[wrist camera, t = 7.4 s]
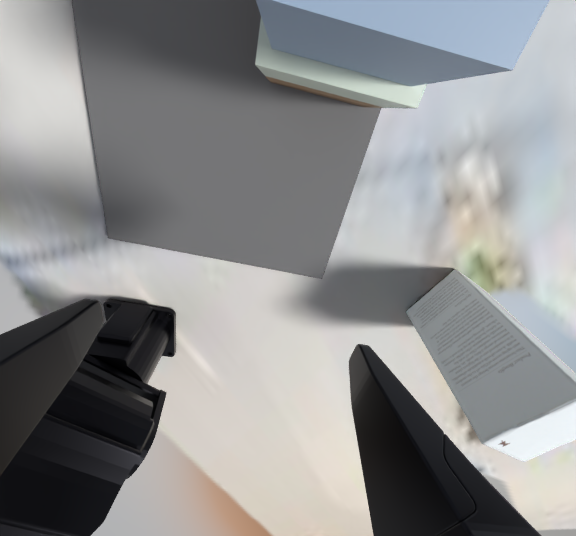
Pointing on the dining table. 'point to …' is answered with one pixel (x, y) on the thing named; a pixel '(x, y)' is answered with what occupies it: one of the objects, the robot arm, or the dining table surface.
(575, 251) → the dining table surface
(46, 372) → the robot arm
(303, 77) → the tower mid
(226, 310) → the dining table surface
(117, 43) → the placemat
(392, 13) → the cube
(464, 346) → the skincare box
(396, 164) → the dining table surface
